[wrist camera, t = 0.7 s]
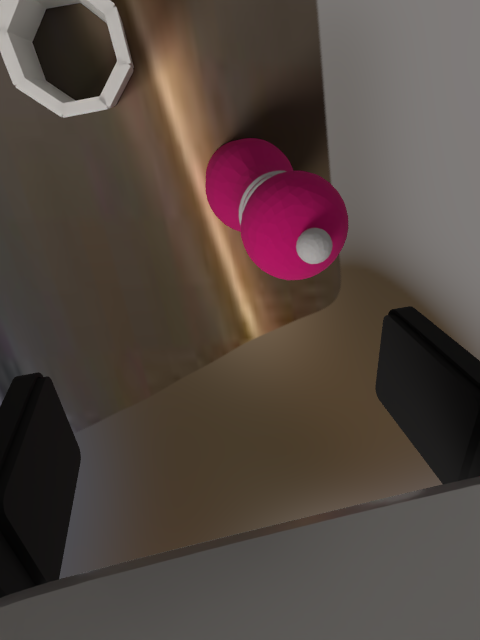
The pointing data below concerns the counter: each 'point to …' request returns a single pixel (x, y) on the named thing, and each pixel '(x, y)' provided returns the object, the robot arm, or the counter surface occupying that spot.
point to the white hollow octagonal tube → (24, 67)
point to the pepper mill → (276, 209)
